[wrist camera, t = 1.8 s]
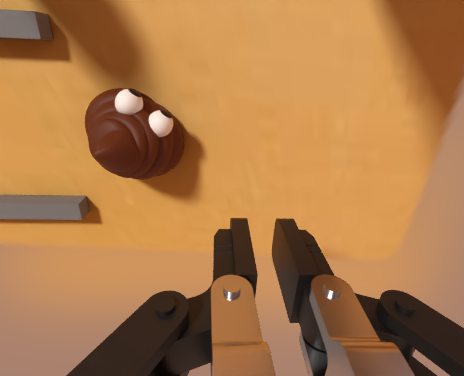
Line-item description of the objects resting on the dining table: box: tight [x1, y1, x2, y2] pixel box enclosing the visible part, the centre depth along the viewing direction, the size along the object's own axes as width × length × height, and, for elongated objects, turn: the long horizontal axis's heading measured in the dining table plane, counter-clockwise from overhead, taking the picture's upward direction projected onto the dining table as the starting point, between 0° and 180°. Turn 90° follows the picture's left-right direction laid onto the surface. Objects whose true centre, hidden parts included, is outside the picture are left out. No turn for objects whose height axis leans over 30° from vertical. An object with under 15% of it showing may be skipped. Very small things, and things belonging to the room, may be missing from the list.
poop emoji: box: [85, 88, 184, 179], centre depth 25 cm, size 10×8×9 cm
